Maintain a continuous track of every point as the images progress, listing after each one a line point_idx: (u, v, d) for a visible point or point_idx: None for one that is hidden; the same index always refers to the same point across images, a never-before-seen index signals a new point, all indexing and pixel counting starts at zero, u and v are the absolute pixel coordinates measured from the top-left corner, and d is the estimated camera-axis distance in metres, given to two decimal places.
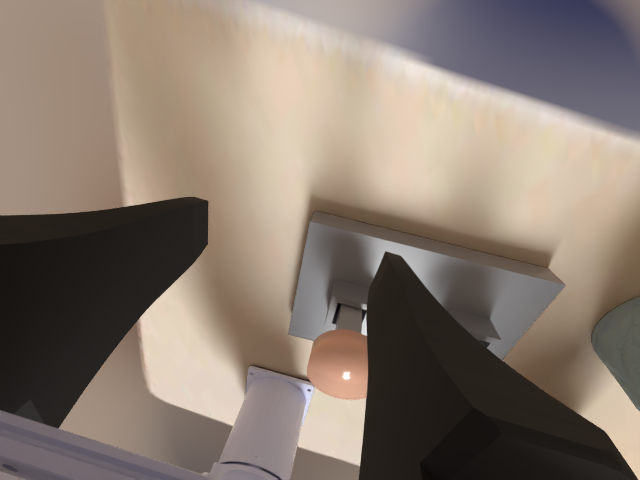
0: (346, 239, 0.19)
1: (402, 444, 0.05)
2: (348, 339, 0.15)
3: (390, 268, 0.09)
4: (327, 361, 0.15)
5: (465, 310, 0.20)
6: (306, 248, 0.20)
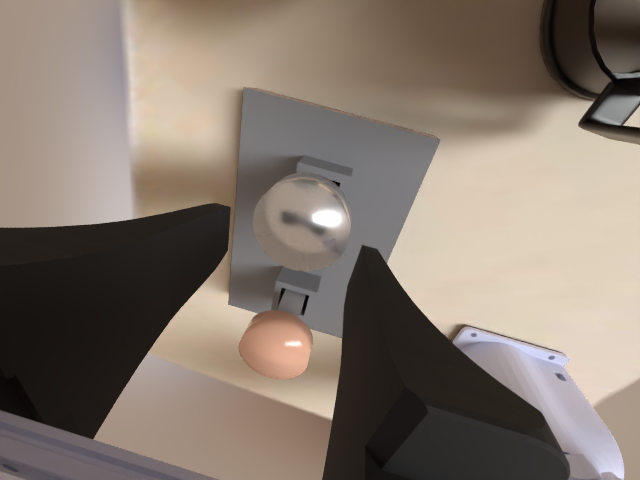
0: (237, 283, 0.23)
1: (355, 430, 0.05)
2: None
3: (364, 260, 0.09)
4: (255, 362, 0.17)
5: None
6: (251, 310, 0.25)
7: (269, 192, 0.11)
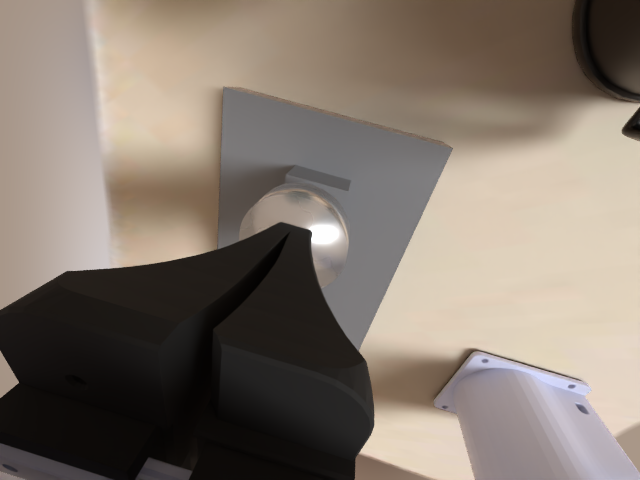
0: None
1: None
2: None
3: None
4: None
5: None
6: None
7: (256, 206, 0.10)
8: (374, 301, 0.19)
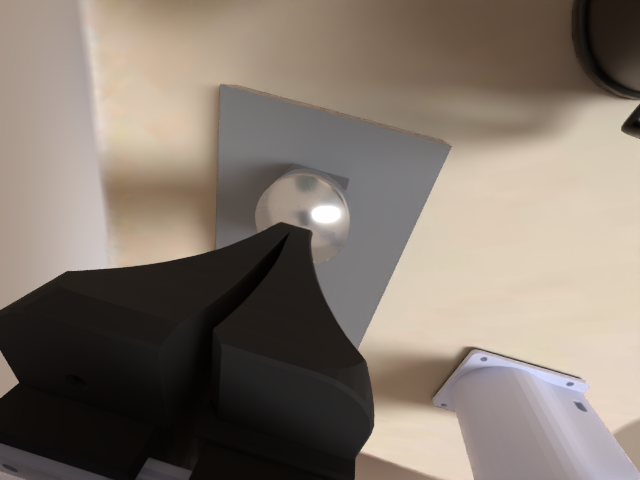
0: None
1: None
2: None
3: None
4: None
5: None
6: None
7: (271, 187, 0.12)
8: (373, 300, 0.18)
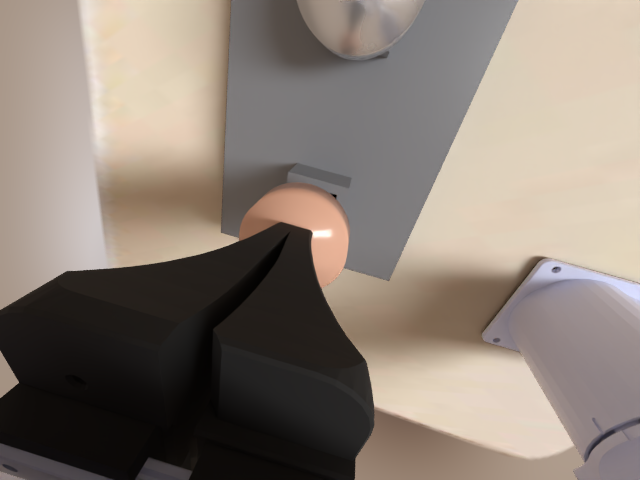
0: (233, 197, 0.17)
1: None
2: None
3: None
4: None
5: None
6: None
7: None
8: (428, 175, 0.14)
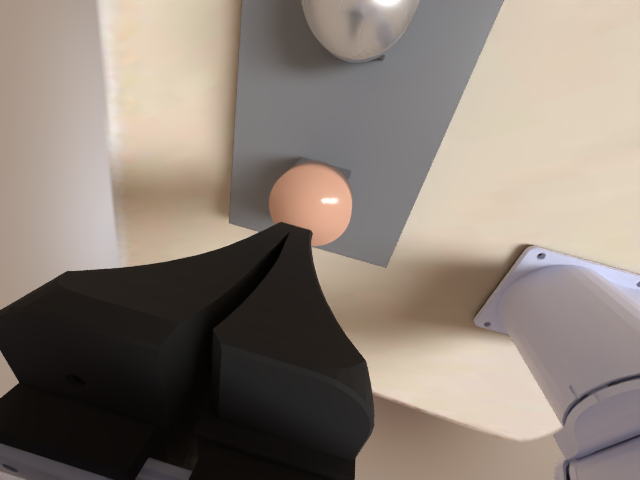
0: (240, 189, 0.18)
1: None
2: None
3: None
4: None
5: None
6: (258, 229, 0.20)
7: None
8: (421, 168, 0.16)
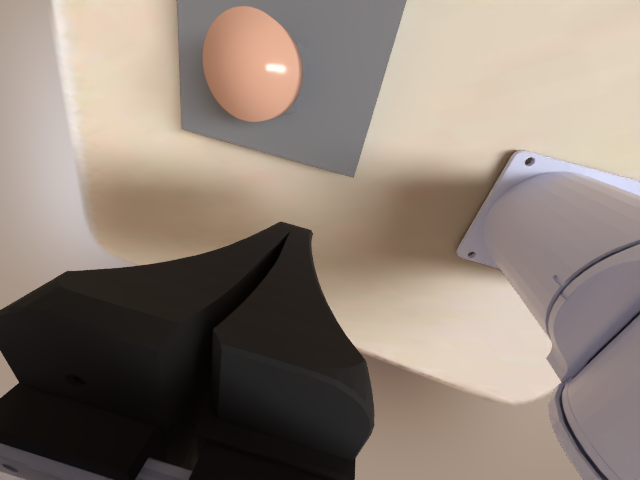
0: (190, 83, 0.16)
1: None
2: None
3: None
4: (226, 92, 0.13)
5: None
6: (213, 135, 0.18)
7: None
8: (385, 39, 0.14)
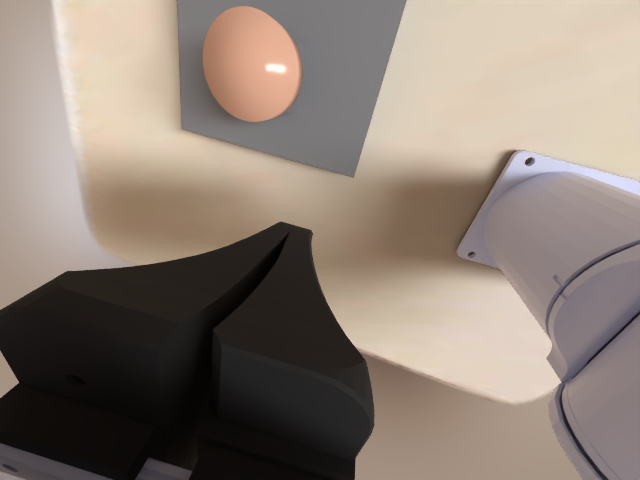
0: (190, 83, 0.16)
1: None
2: None
3: None
4: (226, 92, 0.13)
5: None
6: (213, 135, 0.18)
7: None
8: (385, 39, 0.14)
